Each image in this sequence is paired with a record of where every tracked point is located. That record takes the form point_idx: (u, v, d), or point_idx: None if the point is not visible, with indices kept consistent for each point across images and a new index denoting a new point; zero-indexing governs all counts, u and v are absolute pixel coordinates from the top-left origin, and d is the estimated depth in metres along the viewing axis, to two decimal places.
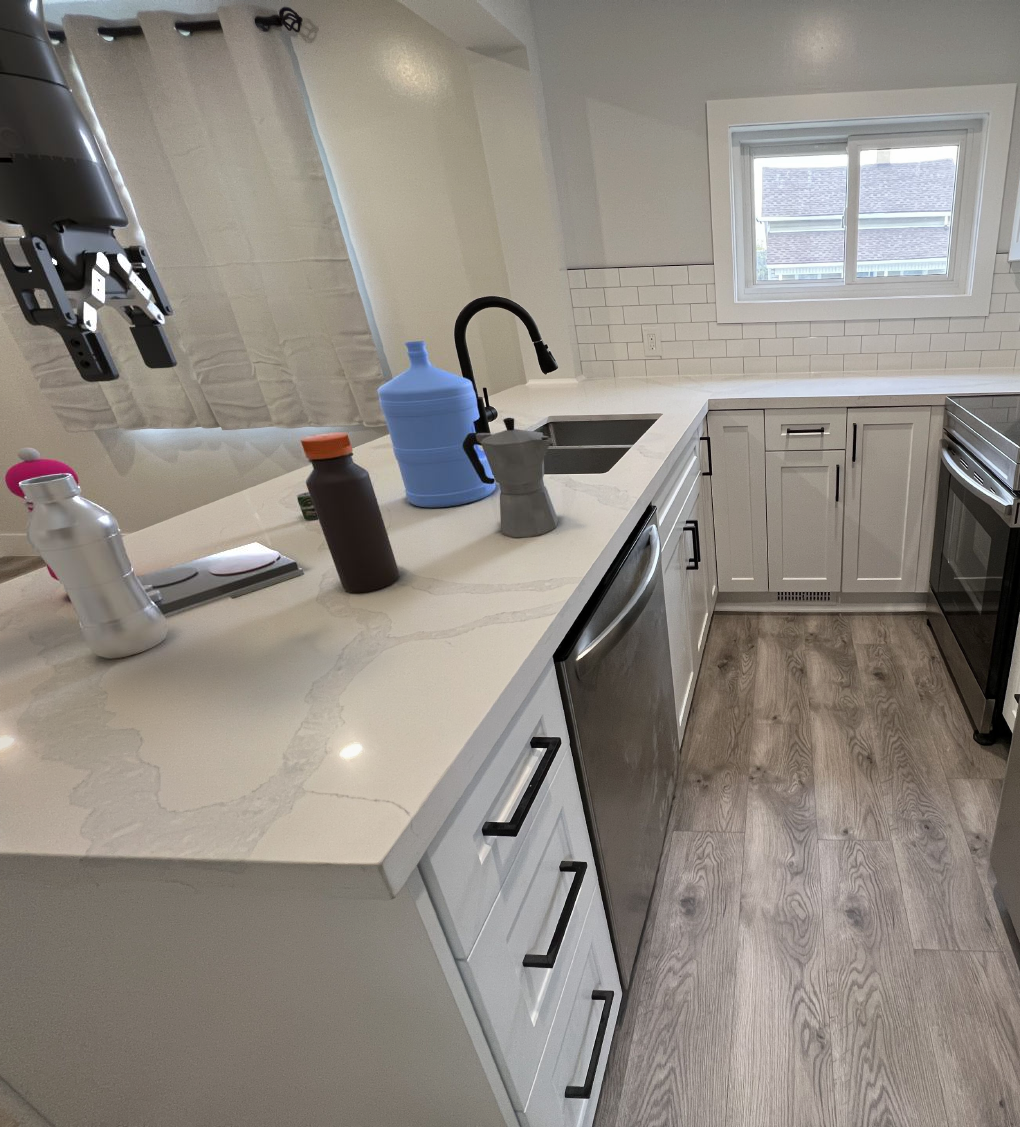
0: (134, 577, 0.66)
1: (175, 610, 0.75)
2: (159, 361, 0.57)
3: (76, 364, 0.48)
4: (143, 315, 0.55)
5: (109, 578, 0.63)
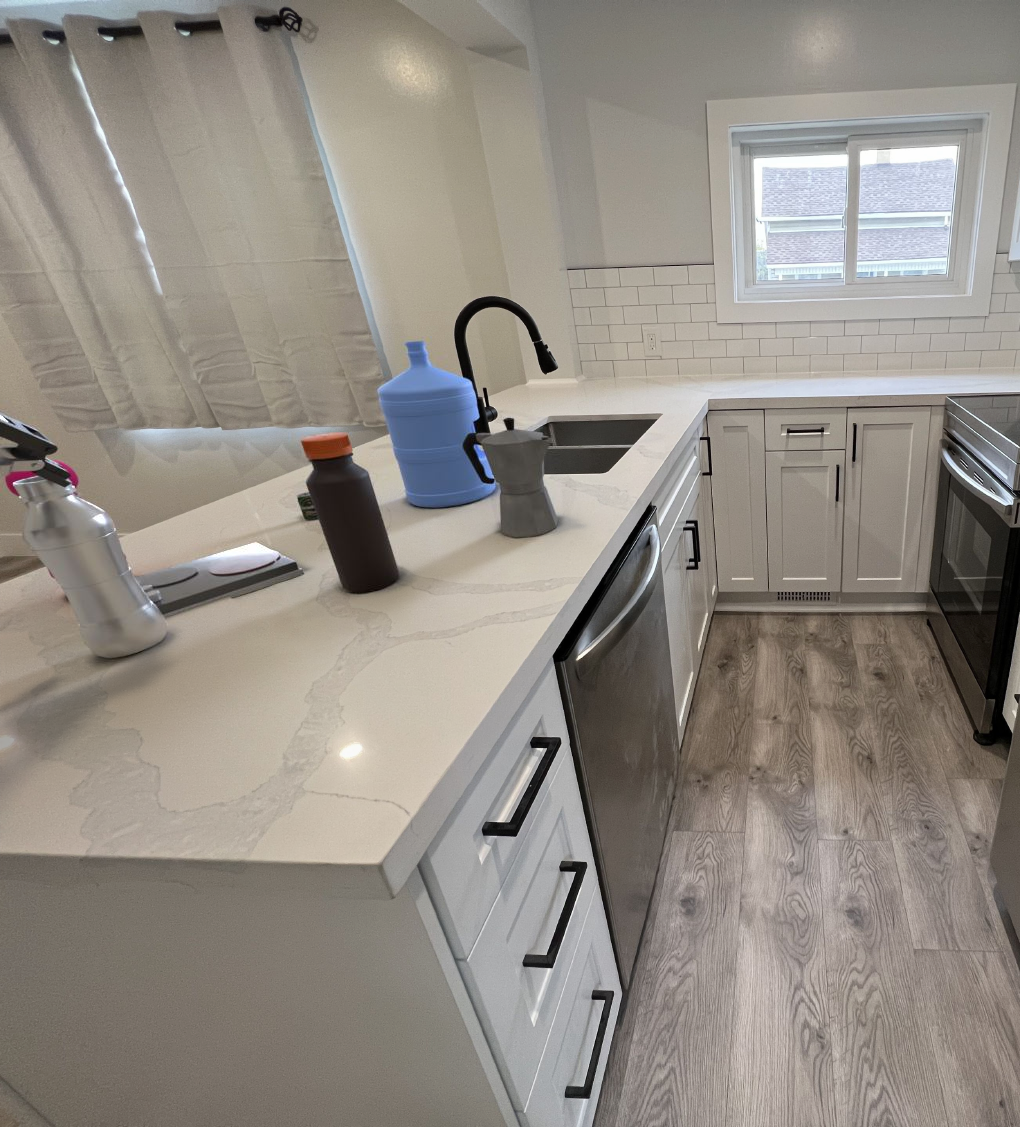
0: (131, 576, 0.66)
1: (175, 610, 0.75)
2: None
3: None
4: None
5: (106, 577, 0.63)
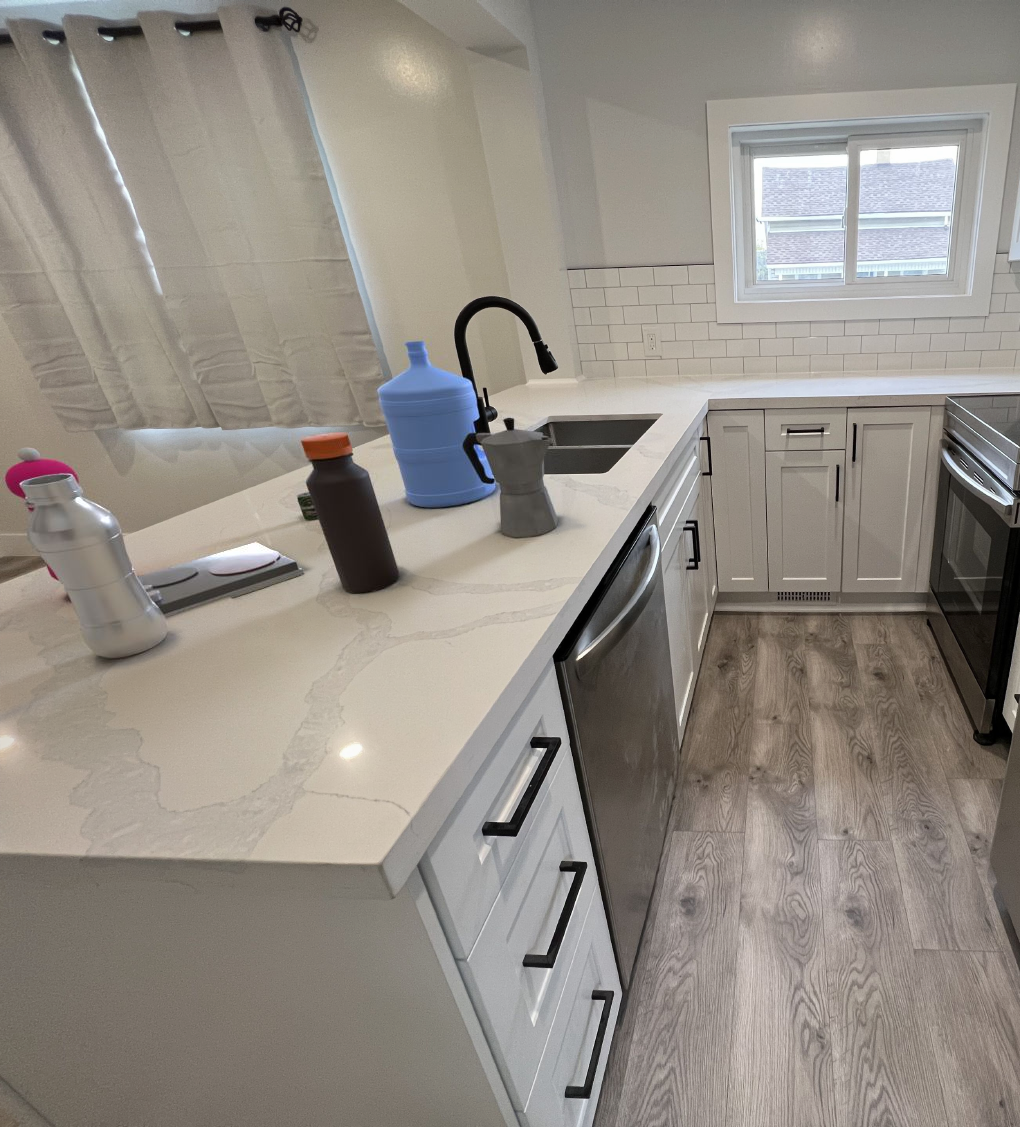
0: (135, 578, 0.66)
1: (175, 610, 0.75)
2: None
3: None
4: None
5: (110, 579, 0.63)
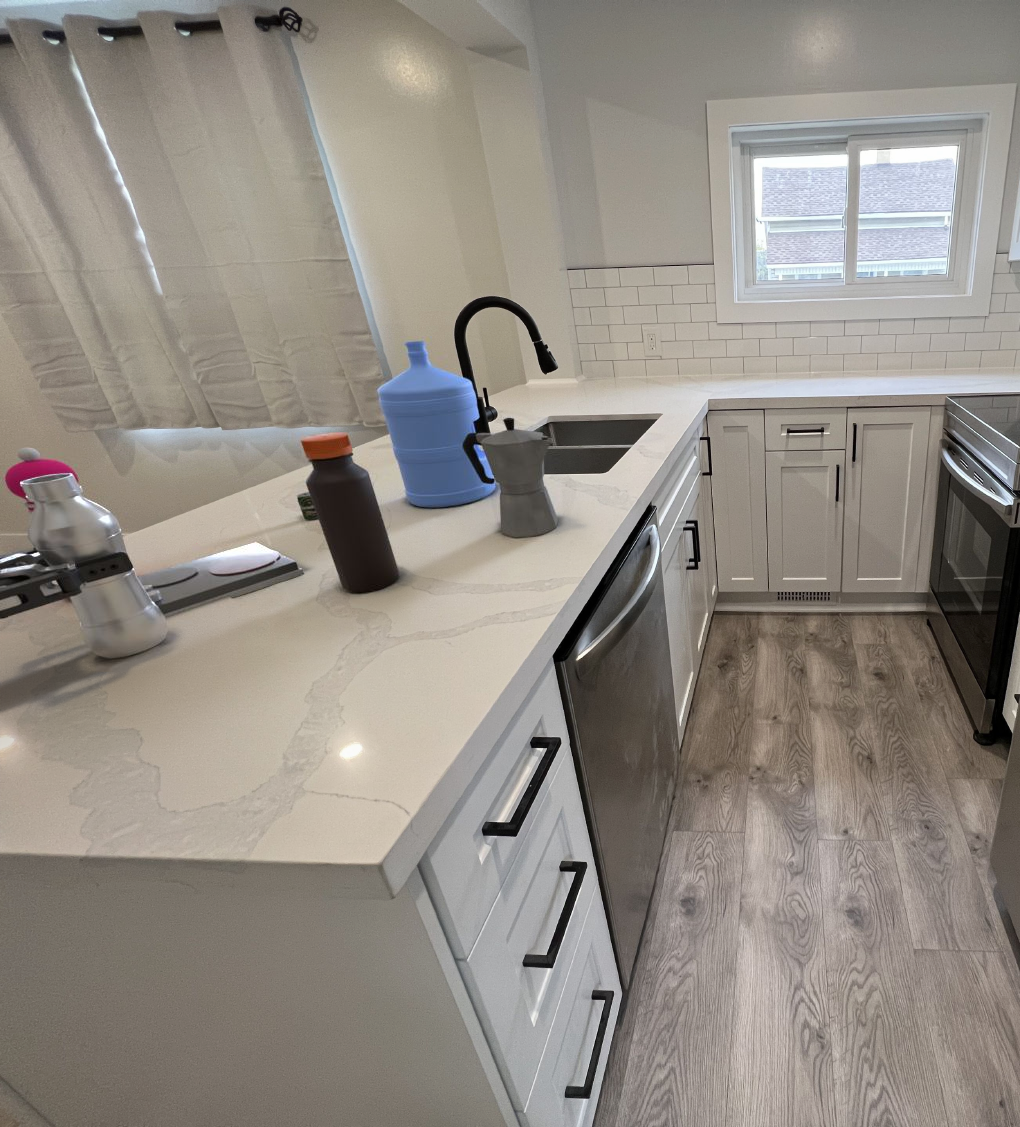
0: (134, 577, 0.66)
1: (175, 610, 0.75)
2: None
3: None
4: None
5: (109, 578, 0.63)
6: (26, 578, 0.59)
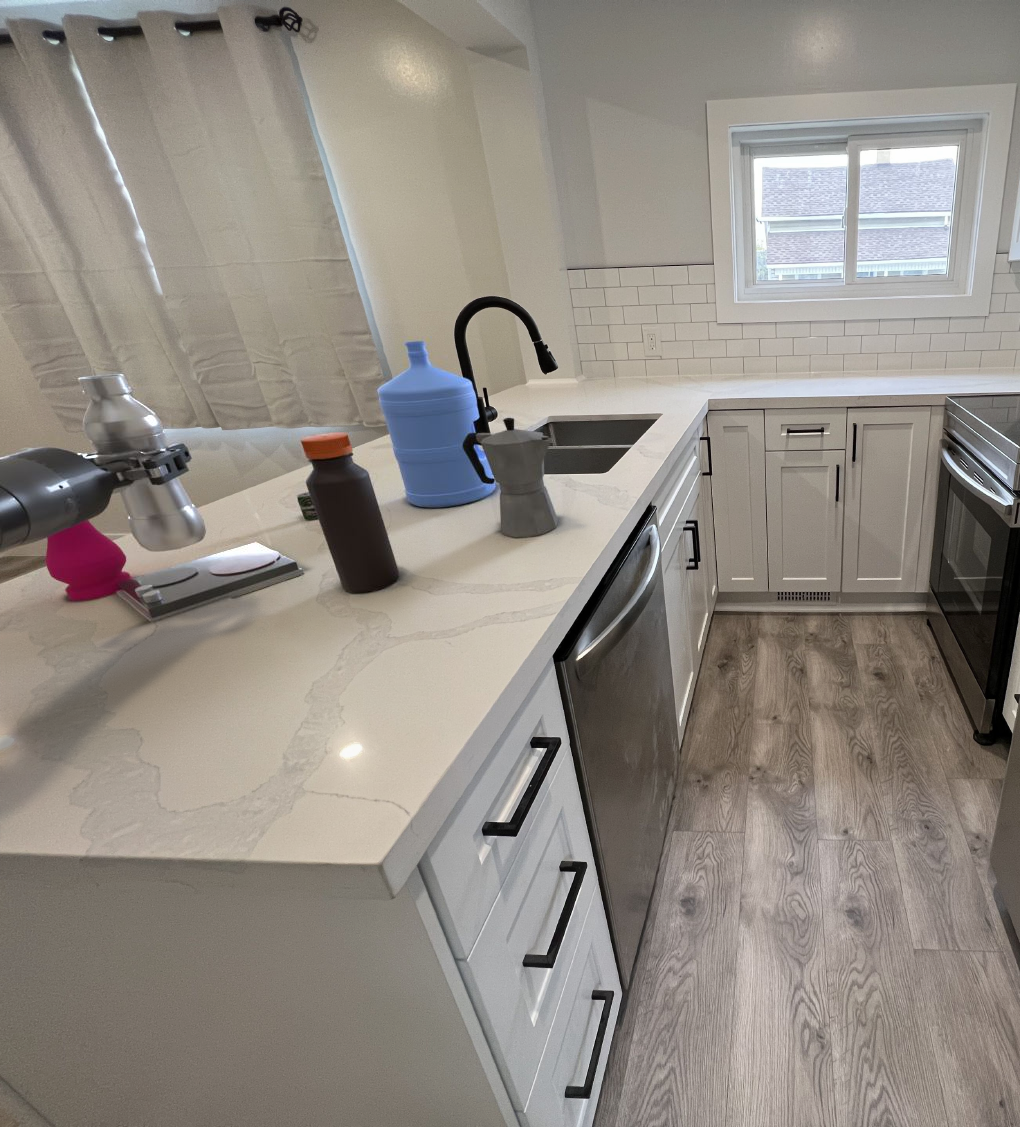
0: None
1: (175, 610, 0.75)
2: None
3: None
4: None
5: None
6: None
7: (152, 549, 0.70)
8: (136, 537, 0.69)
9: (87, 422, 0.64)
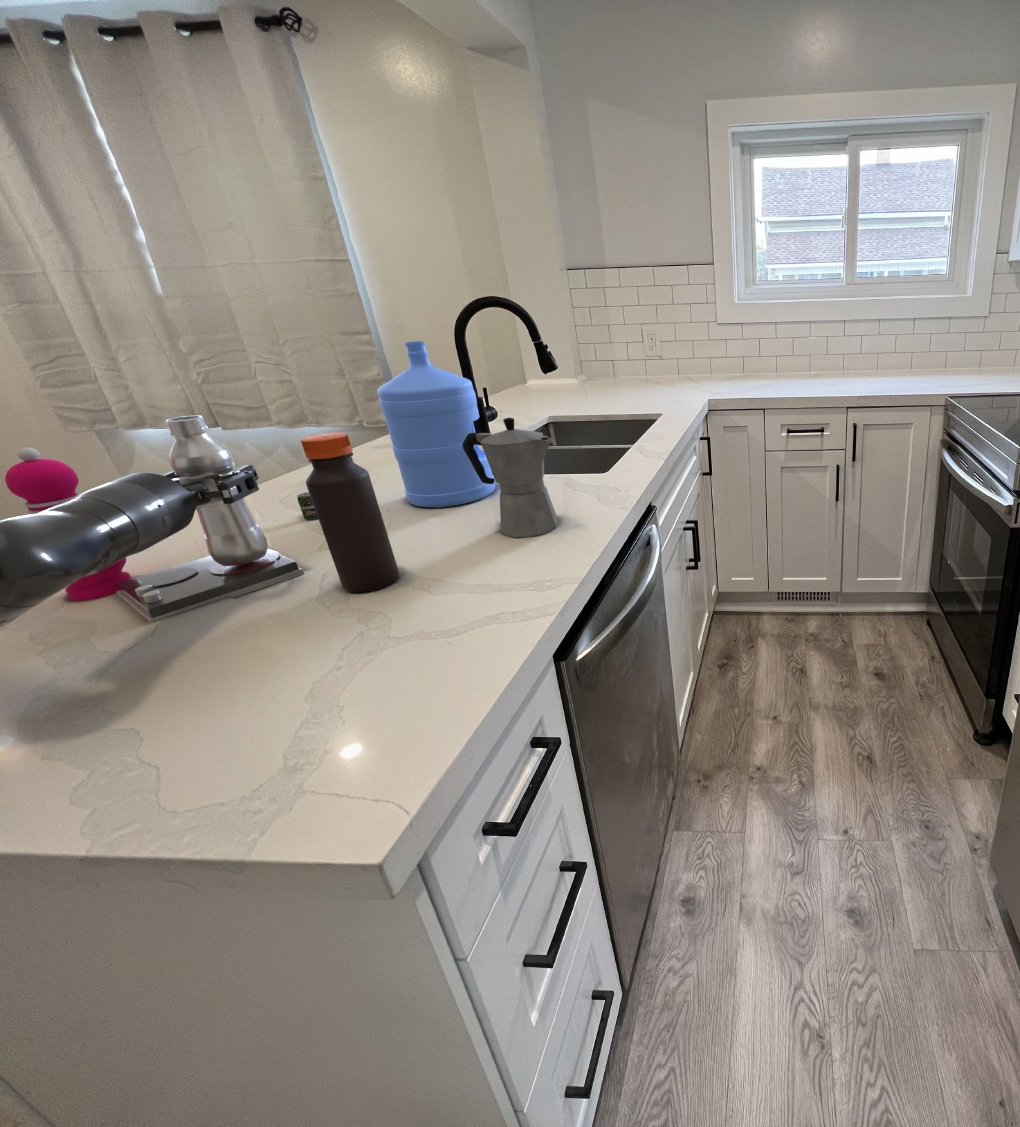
0: None
1: (175, 610, 0.75)
2: None
3: None
4: None
5: None
6: (204, 483, 0.75)
7: (225, 564, 0.82)
8: (212, 554, 0.81)
9: (174, 458, 0.76)
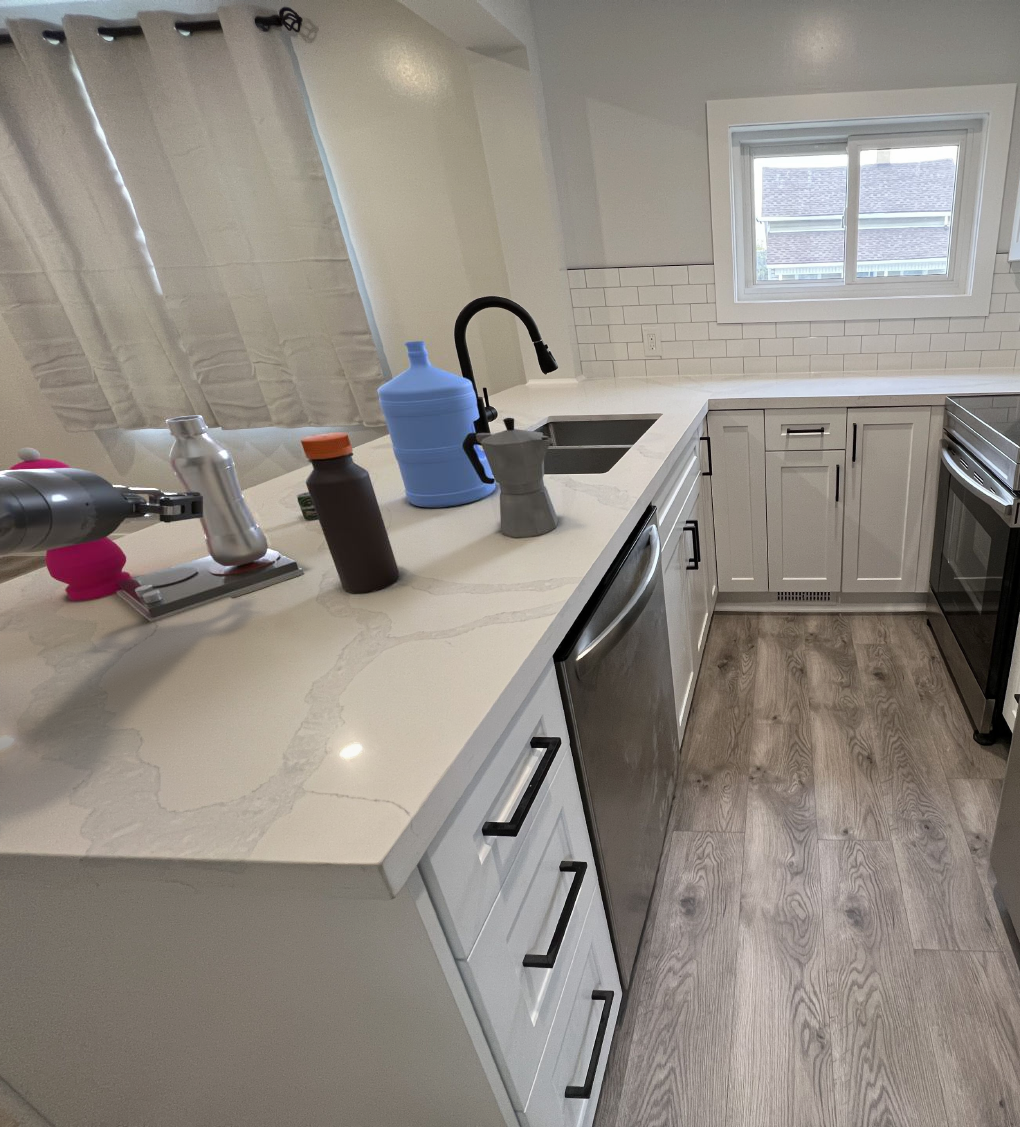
0: None
1: (175, 610, 0.75)
2: None
3: None
4: None
5: (240, 495, 0.82)
6: None
7: (225, 564, 0.82)
8: (212, 554, 0.81)
9: (174, 458, 0.76)
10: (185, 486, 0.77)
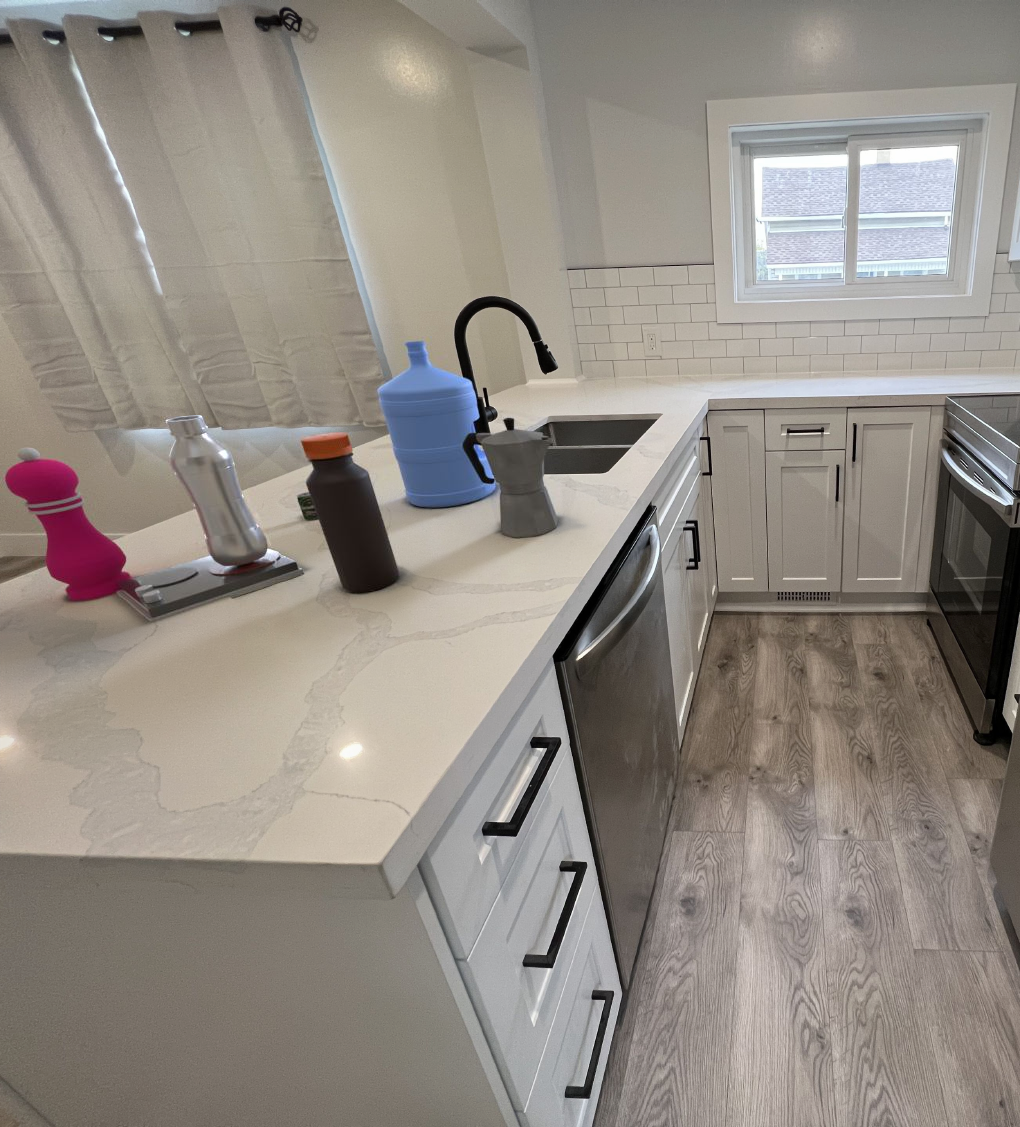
0: None
1: (175, 610, 0.75)
2: None
3: None
4: None
5: (240, 495, 0.82)
6: None
7: (225, 564, 0.82)
8: (212, 554, 0.81)
9: (174, 458, 0.76)
10: (185, 486, 0.77)
